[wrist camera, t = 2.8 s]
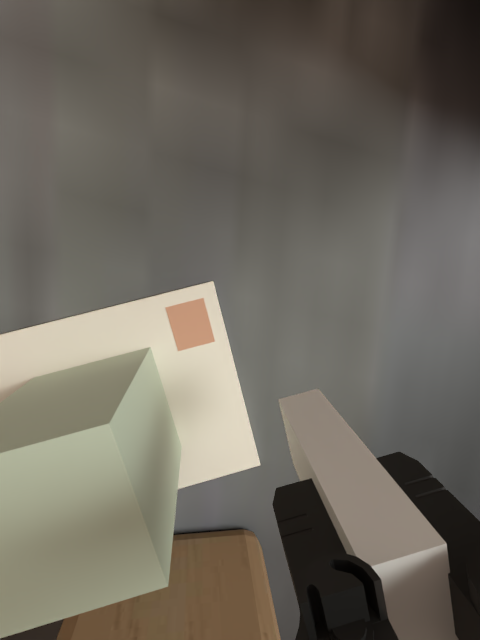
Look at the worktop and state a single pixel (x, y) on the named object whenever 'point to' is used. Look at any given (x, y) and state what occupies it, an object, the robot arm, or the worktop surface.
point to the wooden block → (193, 597)
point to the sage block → (85, 490)
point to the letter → (172, 363)
